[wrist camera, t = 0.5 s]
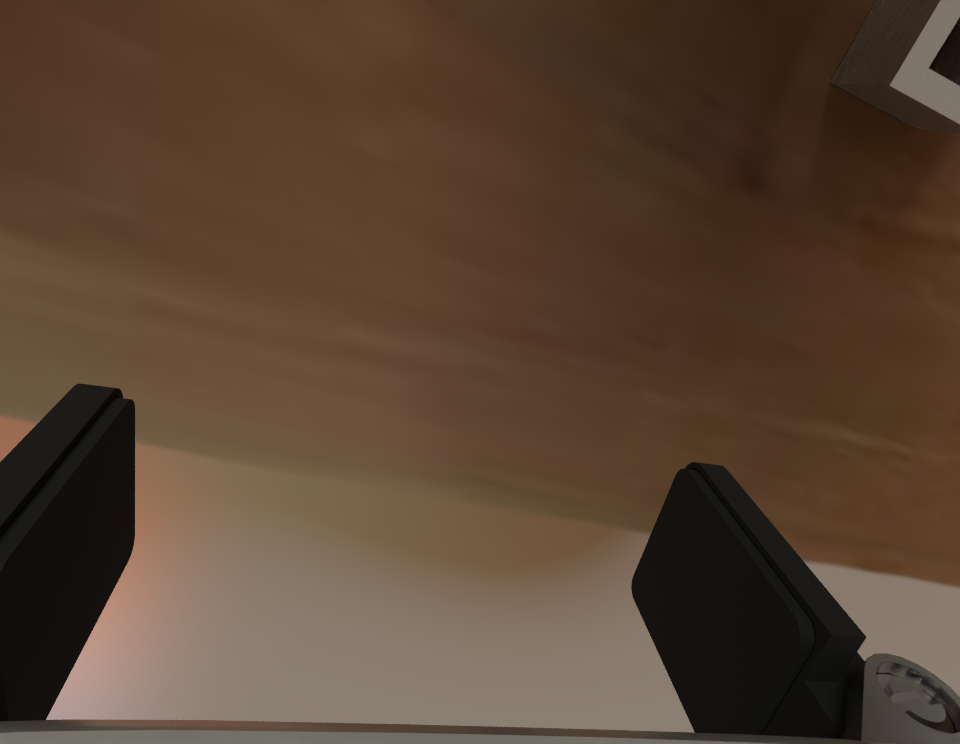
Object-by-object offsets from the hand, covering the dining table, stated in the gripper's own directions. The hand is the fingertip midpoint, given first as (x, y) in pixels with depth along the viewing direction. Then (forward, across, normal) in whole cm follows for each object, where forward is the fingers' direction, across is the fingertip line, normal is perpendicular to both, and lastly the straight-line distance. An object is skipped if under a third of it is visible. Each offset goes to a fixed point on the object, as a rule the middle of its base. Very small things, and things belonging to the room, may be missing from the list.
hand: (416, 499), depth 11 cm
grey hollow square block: (+29, -28, -14) cm, 43 cm away
